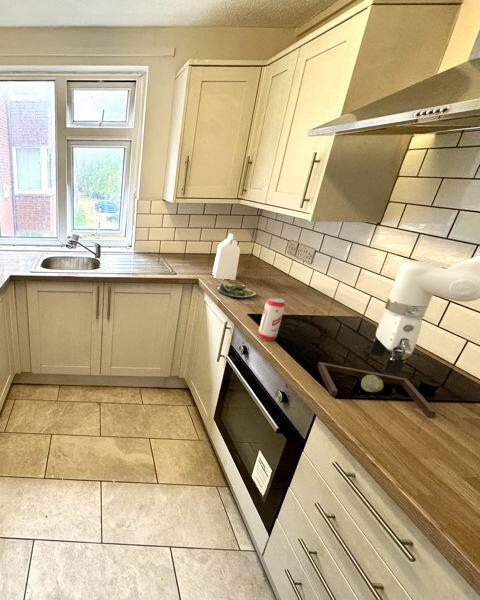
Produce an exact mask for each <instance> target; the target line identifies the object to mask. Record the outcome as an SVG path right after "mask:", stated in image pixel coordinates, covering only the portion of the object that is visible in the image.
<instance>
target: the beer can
mask: <svg viewBox="0 0 480 600" xmlns="http://www.w3.org/2000/svg"><path fill="white" fill-rule="evenodd" d="M285 307H286V304H285V300H284V299H282V298H280V297H274V296H272V297H271V296H270V297H268V299H267V300H266V302H265V305H264V308H263V313H262V316H261V320H260V325H259V328H258V332H257V335H258V337H259V338H260V339H262V341H263V340H264V341H268V342H272V341H274V340H276V339H277V337H278V333H279V330H280V326H281V322H282V320H283V319H282V318H283V316H284V312H285Z"/></svg>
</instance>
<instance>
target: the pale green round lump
mask: <svg viewBox="0 0 480 600" xmlns="http://www.w3.org/2000/svg"><path fill="white" fill-rule="evenodd" d="M360 386H361V388H362V389H363V390H364V391H366V392H368V393H378V392H380V391H382V390H383V389H384V382H382V380H381V379H380V378H379V377H377V376H375V375H367V376H365V377H363V378H362V379H361V382H360Z"/></svg>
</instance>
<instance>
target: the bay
mask: <svg viewBox="0 0 480 600" xmlns="http://www.w3.org/2000/svg"><path fill="white" fill-rule="evenodd" d="M317 367H318V368H317ZM317 367H316V368H317V370H318V369H319V370H318V372H319V374H320V376H321V378H322V381H323V382H324V385H325V387H326V389H327V391H328V393H329V395H330V397H334V398H336V397H337V394H338V392H339V391H338V388H337V387H336V385H335V383H334V381H333V379H332V377H331V374H330V373H329V372H332V373H337V374H343V375H347V376H353V377H357V378H362V379H363V377H365V376H367V375H375V376H377V377H379V378H380V379H381V380H382V382H383V383H388V384H393V385H397V386H401V387H402V388H403V389H404V391H406V393H407V394H408V395H409V397H411V399H412V400H413V401H414V403H415V404H416V405H417V406H418V408H419V409H420V410H421V411H422V412H423V414H424V415H425V416H426V417H427V418H430V419H434V418H435V416H436V415H437V410H435V408H433V406H432V405H431V404H430V403H429V402H428V401H427V399H426V398H424V396H423V395H422V394H421V393H420V392H419V390H418V389H417V388H416V387H415V386H414V385H413V384H412V383H411V382H410V380H409V378H405V377H401V376H396V375H390V374H384V373H379V372H374V371H368V370H363V369H357V368H352V367H347V366H342V365H337V364H332V363H327V362H322V361H319V362H318V364H317Z"/></svg>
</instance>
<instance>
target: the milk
mask: <svg viewBox="0 0 480 600" xmlns="http://www.w3.org/2000/svg"><path fill="white" fill-rule="evenodd" d="M240 254H241V248H240V246H239V245H238V241H237V240H236V239H234V234H233V233H228V236H227V238H226V239H224V240H223V241H221V242H220V243H219V244H218V245H217V249H216V255H215V260H214V264H213V269H212V272H213V273H212V276H213V275H214V276H213V279H215V278H216V279H215V280H224V279H230V280H229V281H236V278H237V273H238V266H239V260H240Z"/></svg>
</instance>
